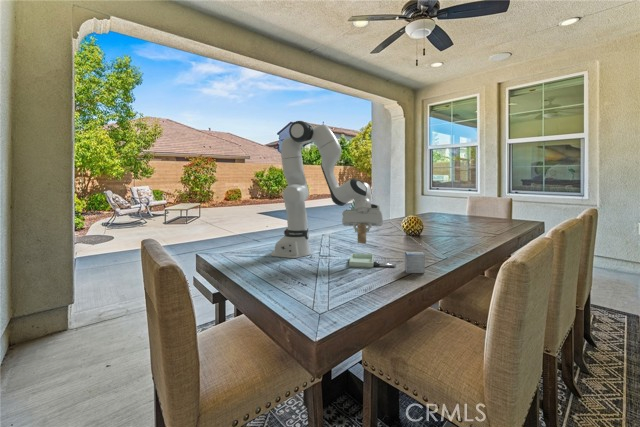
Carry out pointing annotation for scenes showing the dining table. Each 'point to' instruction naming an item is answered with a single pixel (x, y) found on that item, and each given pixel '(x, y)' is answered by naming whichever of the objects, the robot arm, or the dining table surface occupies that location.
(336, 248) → the dining table surface
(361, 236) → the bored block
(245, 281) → the dining table surface
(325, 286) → the dining table surface
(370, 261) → the tray
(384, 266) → the pin gauge
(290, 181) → the robot arm
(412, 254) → the medicine box
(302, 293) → the dining table surface
